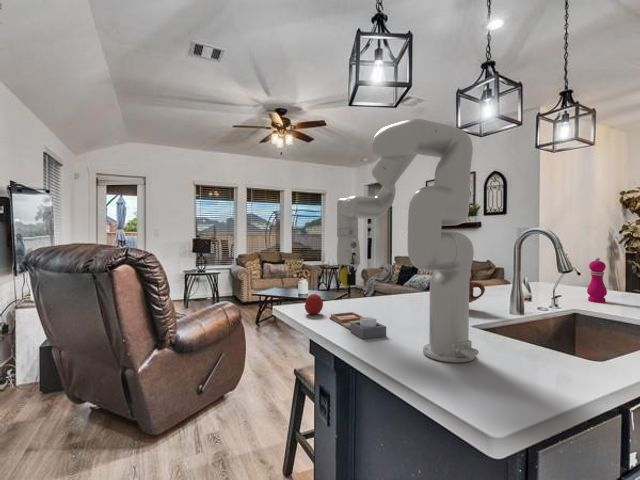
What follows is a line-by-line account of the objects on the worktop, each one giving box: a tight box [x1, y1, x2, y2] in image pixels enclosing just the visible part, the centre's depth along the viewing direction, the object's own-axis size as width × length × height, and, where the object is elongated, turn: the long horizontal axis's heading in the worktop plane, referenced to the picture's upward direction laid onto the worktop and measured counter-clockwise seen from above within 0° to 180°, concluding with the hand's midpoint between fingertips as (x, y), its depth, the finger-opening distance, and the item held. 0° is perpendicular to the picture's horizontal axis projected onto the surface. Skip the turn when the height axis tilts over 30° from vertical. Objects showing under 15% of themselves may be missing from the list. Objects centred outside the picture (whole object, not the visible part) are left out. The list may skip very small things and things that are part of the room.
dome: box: [360, 316, 377, 328], centre depth 112 cm, size 5×5×4 cm
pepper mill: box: [586, 256, 608, 304], centre depth 165 cm, size 7×7×20 cm
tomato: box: [303, 293, 324, 316], centre depth 140 cm, size 8×8×8 cm
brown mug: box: [469, 276, 486, 304], centre depth 148 cm, size 20×12×14 cm, turn 53°
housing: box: [350, 321, 387, 340], centre depth 112 cm, size 8×8×3 cm
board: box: [329, 311, 365, 331], centre depth 126 cm, size 19×10×2 cm, turn 22°
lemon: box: [340, 266, 352, 289], centre depth 130 cm, size 6×6×8 cm
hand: (347, 283), depth 130 cm, fingers closed on lemon, 5 cm apart
